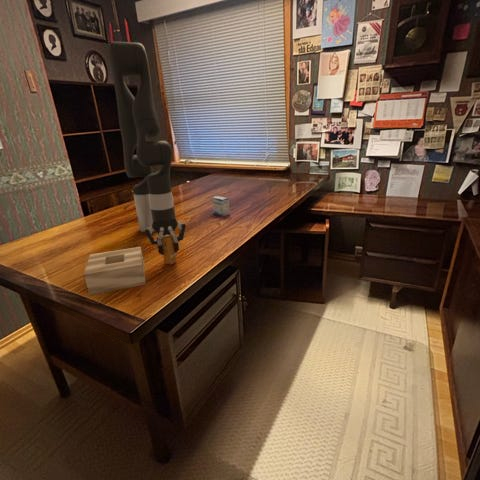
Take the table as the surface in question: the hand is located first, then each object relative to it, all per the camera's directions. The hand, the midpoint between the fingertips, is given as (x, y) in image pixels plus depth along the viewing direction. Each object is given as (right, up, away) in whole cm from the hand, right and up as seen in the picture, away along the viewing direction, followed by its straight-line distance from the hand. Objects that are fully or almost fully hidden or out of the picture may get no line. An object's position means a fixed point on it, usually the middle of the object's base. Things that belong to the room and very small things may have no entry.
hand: (169, 252), depth 104 cm
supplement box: (0, -4, +2) cm, 4 cm away
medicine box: (+15, +18, +51) cm, 56 cm away
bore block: (-14, -8, -8) cm, 18 cm away
